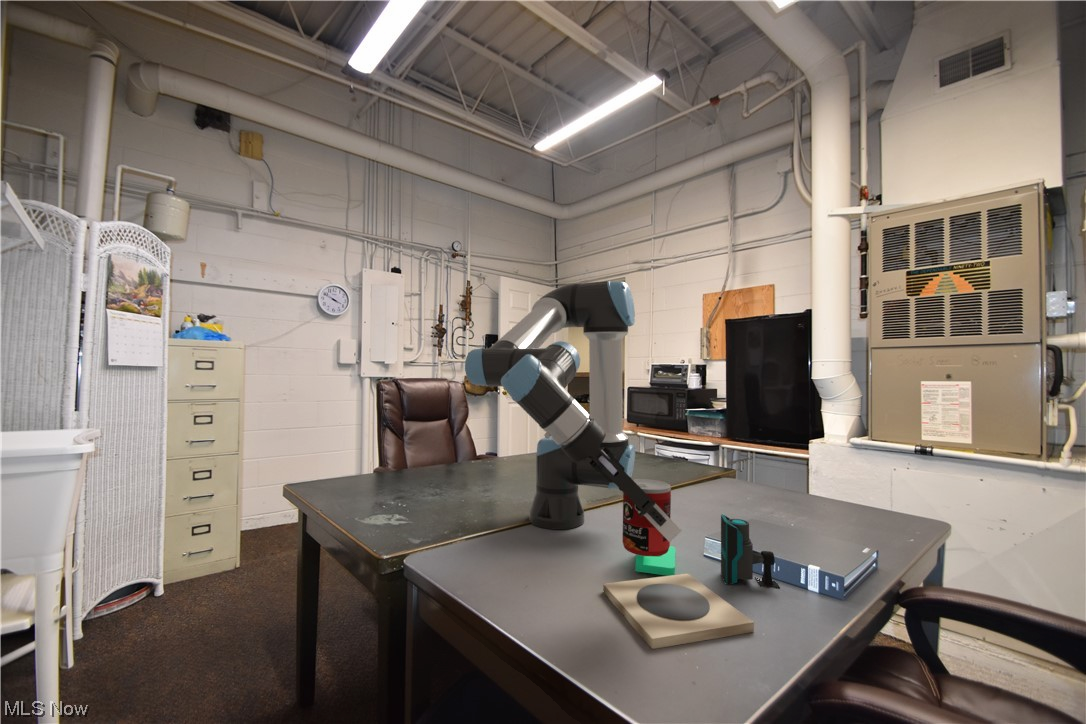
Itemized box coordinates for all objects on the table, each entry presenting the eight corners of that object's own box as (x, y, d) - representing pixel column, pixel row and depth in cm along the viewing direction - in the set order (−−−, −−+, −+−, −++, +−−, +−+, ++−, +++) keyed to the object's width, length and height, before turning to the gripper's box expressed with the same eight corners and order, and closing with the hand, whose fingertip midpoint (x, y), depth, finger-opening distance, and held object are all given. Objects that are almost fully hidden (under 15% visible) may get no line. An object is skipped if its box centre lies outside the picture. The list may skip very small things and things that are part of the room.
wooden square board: (603, 591, 84) (603, 582, 84) (687, 581, 89) (687, 571, 89) (652, 649, 67) (652, 636, 67) (753, 631, 72) (753, 620, 72)
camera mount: (674, 582, 89) (675, 529, 89) (635, 576, 91) (635, 525, 91) (675, 558, 100) (675, 511, 101) (640, 554, 103) (640, 508, 103)
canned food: (614, 542, 80) (615, 480, 80) (652, 537, 83) (653, 477, 83) (638, 560, 73) (639, 491, 73) (679, 553, 75) (680, 487, 76)
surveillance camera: (781, 526, 86) (725, 522, 88) (781, 591, 86) (725, 585, 88) (772, 517, 91) (720, 513, 93) (773, 577, 91) (720, 572, 93)
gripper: (553, 438, 87) (634, 522, 88) (567, 458, 67) (672, 568, 67) (581, 411, 88) (661, 495, 88) (603, 423, 67) (707, 532, 68)
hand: (665, 526), depth 78 cm, fingers closed on canned food, 8 cm apart
